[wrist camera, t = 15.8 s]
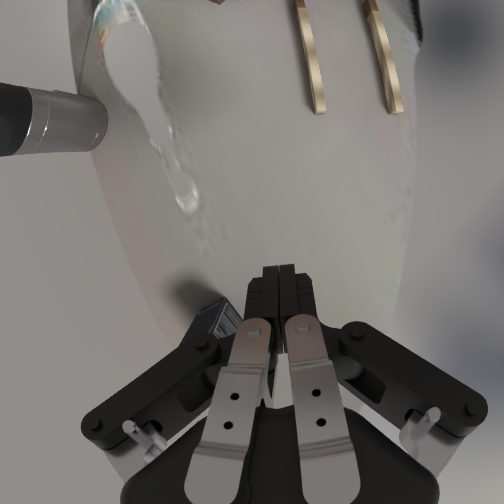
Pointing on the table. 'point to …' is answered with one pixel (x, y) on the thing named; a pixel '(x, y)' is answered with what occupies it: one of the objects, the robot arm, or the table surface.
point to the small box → (215, 320)
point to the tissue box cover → (217, 1)
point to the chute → (381, 49)
